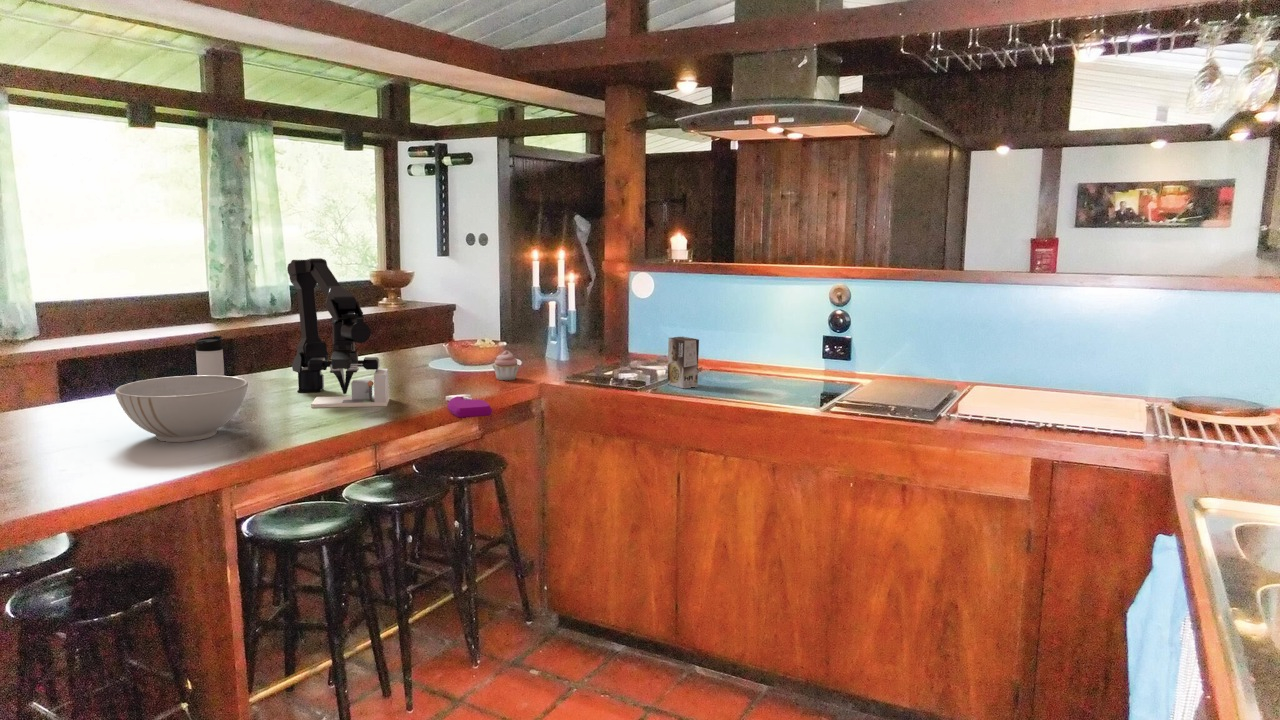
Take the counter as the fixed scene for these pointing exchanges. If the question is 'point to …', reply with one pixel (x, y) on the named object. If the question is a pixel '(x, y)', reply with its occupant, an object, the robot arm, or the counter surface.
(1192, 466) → the counter surface
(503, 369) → the cupcake
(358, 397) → the block
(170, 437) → the decorative bowl
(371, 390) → the drag needle
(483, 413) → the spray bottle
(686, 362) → the coffee box
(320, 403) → the base
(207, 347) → the travel mug
